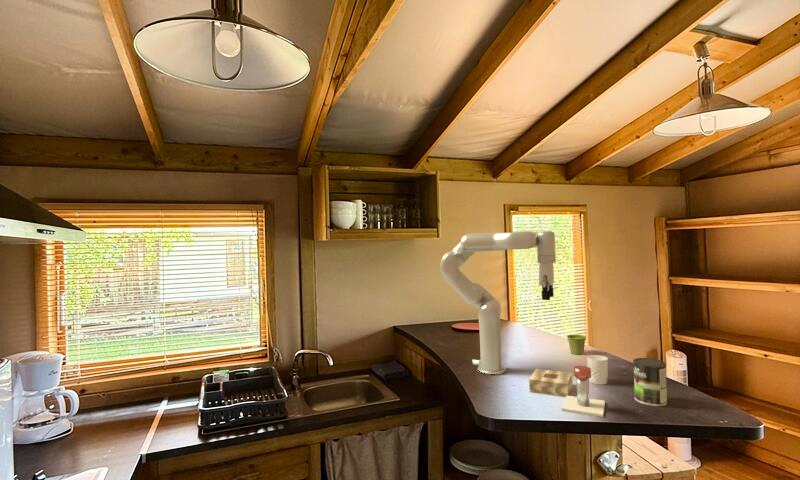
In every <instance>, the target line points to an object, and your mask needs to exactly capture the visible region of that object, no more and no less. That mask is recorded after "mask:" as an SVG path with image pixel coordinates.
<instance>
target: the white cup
mask: <svg viewBox="0 0 800 480" xmlns="http://www.w3.org/2000/svg"><path fill="white" fill-rule="evenodd" d="M586 364H587V365H586V367H589V368H591V378H589V383H591V384H594V385H600V386H601V385H602V386H603V385H606V384H608V375H609V373H608V372H609V357H607V356H604V355H599V354H589V355H587V356H586Z"/></svg>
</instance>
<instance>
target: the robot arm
mask: <svg viewBox="0 0 800 480" xmlns="http://www.w3.org/2000/svg"><path fill="white" fill-rule="evenodd" d="M555 237H556V235H555V232H554V231H552V230H548V231H547V230H545V231H538V232H535V231H528V230H527V231H514V232H500V231H499V232H498V231H495V232H494V231H493V232H492V231H491V232H477V233H475V232H474V233H465V234H464V235H463V236H462V237H461V239H460V241H459V243H458V244H457V245H456V246H455V247H454V248H453V249H452V250H450V251H448V252H446V253H444V254H443V256H442V258H441V260H440V263H439V270H440V274H441V277H442V278H443V280H444V281H445V283H447V284H448V285H449V286H450V288H452V289H453V291H454V292H455V293H456V294H457V295H458V296H459V297H460V298H461V299H462V300H463V301H464V302H465V304H467V305H470V306H474V307H475V308H476V309H477V310H478V313H477V317H478V318H477V319H478V327H479V349H480V350H479V351H480V359H476V358H475V359H474V358H472V360H471V361H472V362H471V363H472V365H474V366H477V371H478V370H479V371H480V372H479V371H478V372H479V373H481V372H482V373H481V374H484V373H485V374H484V375H491V374H493V375H494V374H495V375H502V374H504V373H506V370H507V368H506V367H505V366H504V365H503V359H502V358H503V357H502V356H503V354H502V353H503V352H502V334H501V333H502V330H501V329H502V327H501V313H502V305H501V303H500V302H499V301H498V300H497V299H496V298H495V297H494V296H493V295H492V294H491V293H490V292H489V291H488V290H487V288H485V287H484V286H482V285H481V284H480V283H477V282H473V281H471V280H470V279H469V277H467V275H465V274H464V273H463V272H462V271H461V270H460V267H462V265H464V264H465V262H467V261H468V260H469V259H470V258H471V257H472V256H473V255H474V253H475V252H499V251H500V252H501V251H505V250H506V251H507V250H509V251H510V250H511V251H512V250H530V249H532V248H536V251H537V256H536V257H537V258H536V259H537V264H539V267H538V284H539V286H541V300H543V301H550V300H551V298H553V297H554V294H555V293H554V282H555V277H554V274H555V273H554V264H555V263H557V262H556V261H557V260H556V238H555Z"/></svg>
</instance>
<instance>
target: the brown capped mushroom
mask: <svg viewBox="0 0 800 480" xmlns="http://www.w3.org/2000/svg"><path fill="white" fill-rule="evenodd" d="M573 376H574V377H575V378H576V380H575V381H576V397H577V404H578V405H579V406H583V407H587V406H590V402H589V399H590V381H589V378H591V368H589V367H588V366H587V365H586V366H585V365H576V366H573Z"/></svg>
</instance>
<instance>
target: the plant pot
mask: <svg viewBox="0 0 800 480" xmlns="http://www.w3.org/2000/svg"><path fill="white" fill-rule="evenodd" d="M566 338H567V341H568V344H569V351H570V354H572V355H574V356H576V355H577V356H578V355H579V356H581V355H584V353H585V342H586V339H587V336H586V335H583V334H568V335H566Z"/></svg>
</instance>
